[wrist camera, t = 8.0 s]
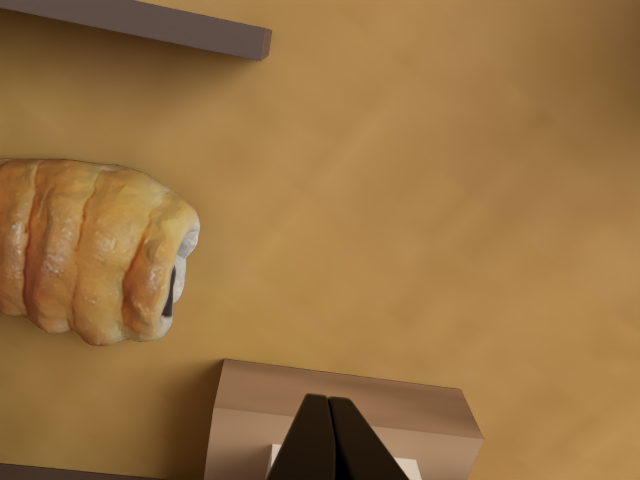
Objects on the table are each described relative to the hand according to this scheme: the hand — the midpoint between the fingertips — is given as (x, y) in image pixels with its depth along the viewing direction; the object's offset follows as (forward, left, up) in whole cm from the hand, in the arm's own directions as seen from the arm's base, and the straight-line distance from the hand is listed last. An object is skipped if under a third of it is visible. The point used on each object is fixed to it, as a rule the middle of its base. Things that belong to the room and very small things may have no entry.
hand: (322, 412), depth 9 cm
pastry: (-3, +8, -11) cm, 14 cm away
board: (-12, -3, -11) cm, 16 cm away
